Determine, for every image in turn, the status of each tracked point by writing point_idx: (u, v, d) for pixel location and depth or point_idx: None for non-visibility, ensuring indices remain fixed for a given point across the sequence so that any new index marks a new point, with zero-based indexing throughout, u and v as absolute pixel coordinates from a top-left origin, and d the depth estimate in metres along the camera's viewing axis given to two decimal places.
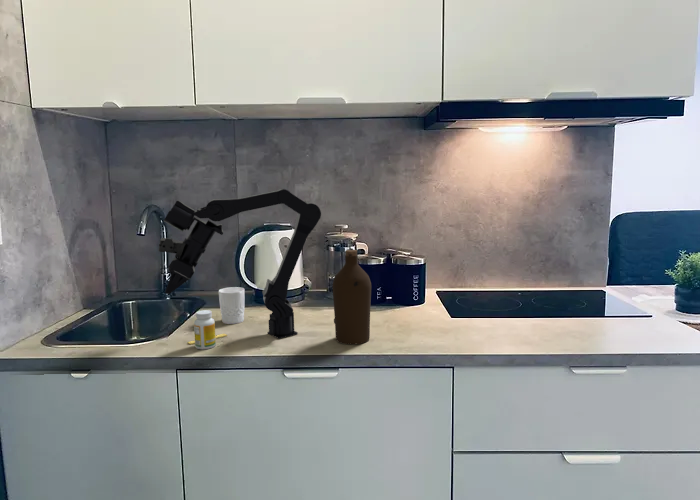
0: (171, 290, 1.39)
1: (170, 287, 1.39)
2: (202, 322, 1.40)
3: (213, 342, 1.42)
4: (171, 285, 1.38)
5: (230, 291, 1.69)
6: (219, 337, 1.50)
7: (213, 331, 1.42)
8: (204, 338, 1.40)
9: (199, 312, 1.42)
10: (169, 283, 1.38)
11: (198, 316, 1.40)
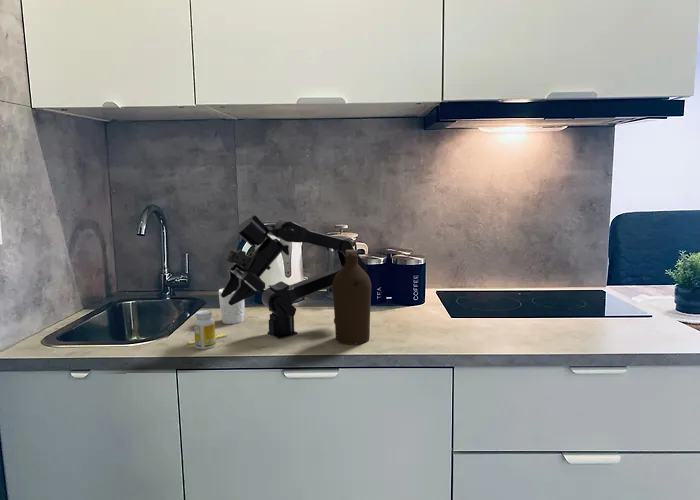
0: (235, 301, 1.40)
1: (235, 298, 1.40)
2: (202, 322, 1.40)
3: (213, 342, 1.42)
4: (237, 297, 1.39)
5: None
6: (219, 337, 1.50)
7: (213, 331, 1.42)
8: (204, 338, 1.40)
9: (199, 312, 1.42)
10: (235, 294, 1.39)
11: (198, 316, 1.40)
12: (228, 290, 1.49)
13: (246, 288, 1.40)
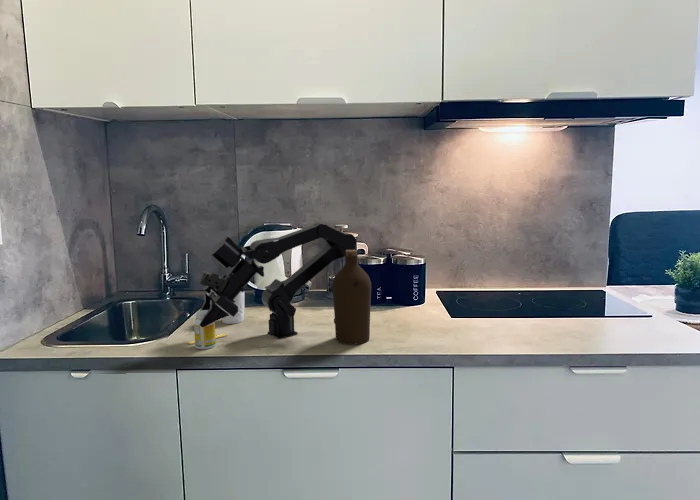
0: (206, 323, 1.39)
1: (206, 320, 1.39)
2: None
3: (213, 342, 1.42)
4: (208, 318, 1.39)
5: None
6: (219, 337, 1.50)
7: (213, 331, 1.42)
8: (204, 338, 1.40)
9: (199, 312, 1.42)
10: (207, 316, 1.38)
11: (198, 316, 1.40)
12: None
13: (217, 310, 1.39)
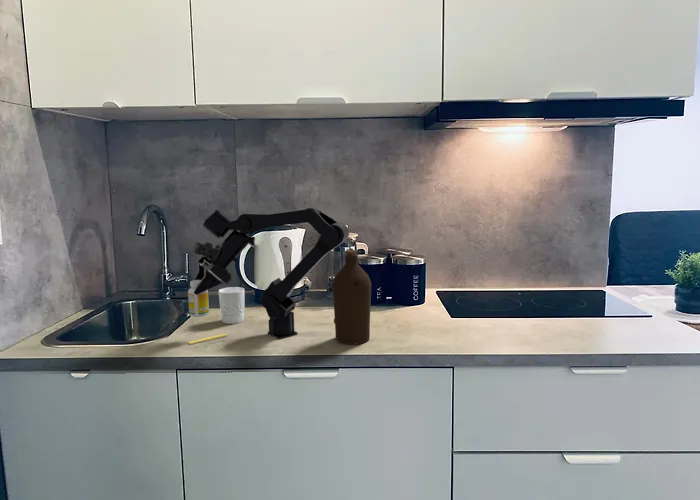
0: (200, 291, 1.45)
1: (200, 288, 1.45)
2: None
3: (206, 310, 1.48)
4: (202, 286, 1.45)
5: (230, 291, 1.69)
6: (219, 337, 1.50)
7: (206, 299, 1.48)
8: (198, 306, 1.46)
9: (193, 281, 1.47)
10: (201, 284, 1.44)
11: (192, 285, 1.46)
12: None
13: (211, 278, 1.45)
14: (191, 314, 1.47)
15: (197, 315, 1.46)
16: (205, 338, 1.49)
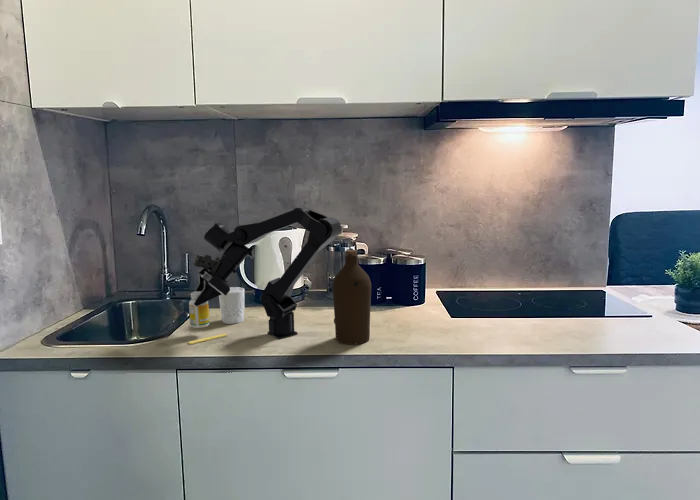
0: (200, 302, 1.48)
1: (200, 299, 1.48)
2: None
3: (207, 321, 1.51)
4: (202, 298, 1.48)
5: (230, 291, 1.69)
6: (219, 337, 1.50)
7: (207, 311, 1.51)
8: (198, 317, 1.49)
9: (193, 293, 1.51)
10: (201, 296, 1.47)
11: (192, 296, 1.49)
12: None
13: (211, 290, 1.48)
14: (192, 325, 1.50)
15: (198, 326, 1.50)
16: (205, 338, 1.49)
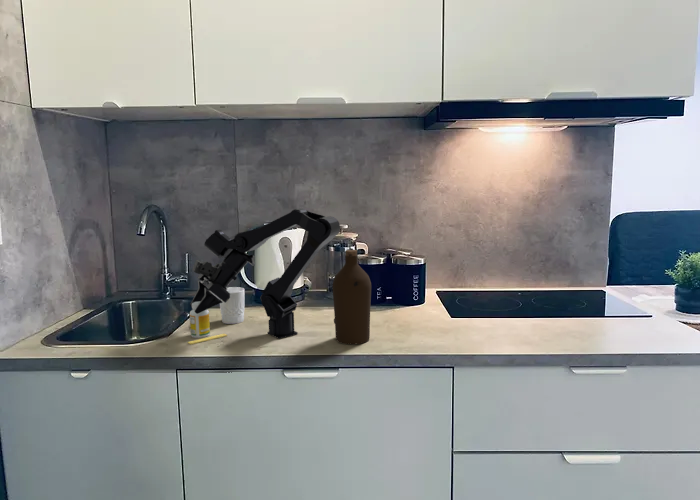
0: (201, 310, 1.47)
1: (201, 307, 1.47)
2: None
3: (207, 331, 1.52)
4: (202, 305, 1.47)
5: (230, 291, 1.69)
6: (219, 337, 1.50)
7: (207, 321, 1.51)
8: (199, 327, 1.50)
9: (194, 303, 1.51)
10: (201, 303, 1.47)
11: (193, 307, 1.50)
12: (197, 300, 1.55)
13: (211, 297, 1.48)
14: (192, 335, 1.51)
15: (198, 336, 1.50)
16: (205, 338, 1.49)
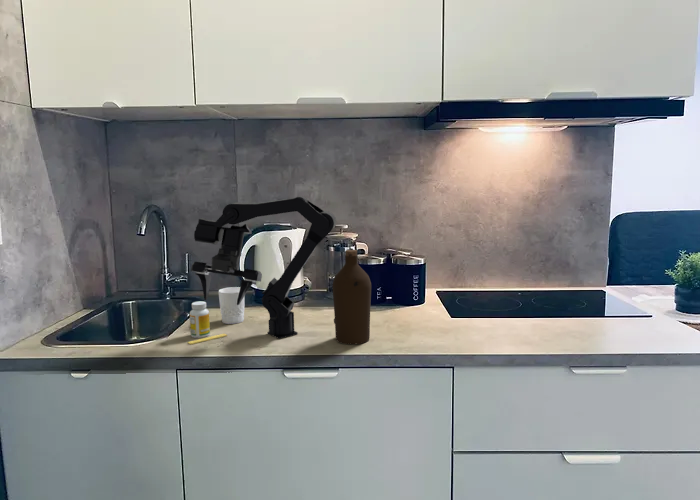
0: (241, 300, 1.48)
1: (242, 297, 1.47)
2: (197, 312, 1.49)
3: (207, 331, 1.52)
4: (243, 295, 1.47)
5: (230, 291, 1.69)
6: (219, 337, 1.50)
7: (207, 321, 1.51)
8: (199, 327, 1.50)
9: (194, 303, 1.51)
10: (242, 294, 1.46)
11: (193, 307, 1.50)
12: (207, 291, 1.48)
13: None
14: (192, 335, 1.51)
15: (198, 336, 1.50)
16: (205, 338, 1.49)
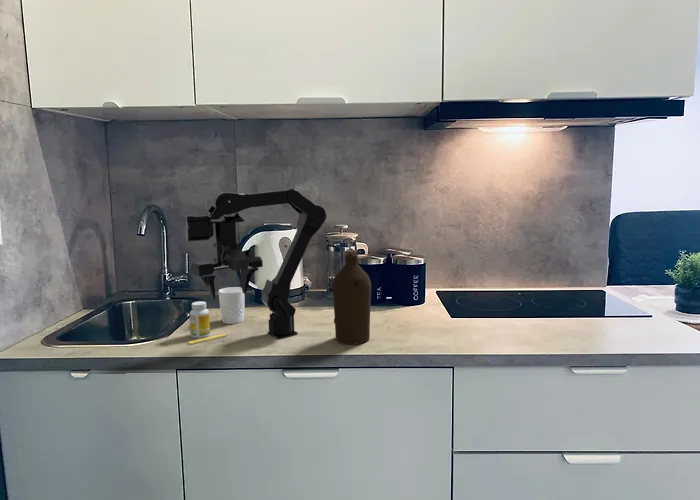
0: None
1: None
2: (197, 312, 1.49)
3: (207, 331, 1.52)
4: None
5: (230, 291, 1.69)
6: (219, 337, 1.50)
7: (207, 321, 1.51)
8: (199, 327, 1.50)
9: (194, 303, 1.51)
10: None
11: (193, 307, 1.50)
12: None
13: None
14: (192, 335, 1.51)
15: (198, 336, 1.50)
16: (205, 338, 1.49)
